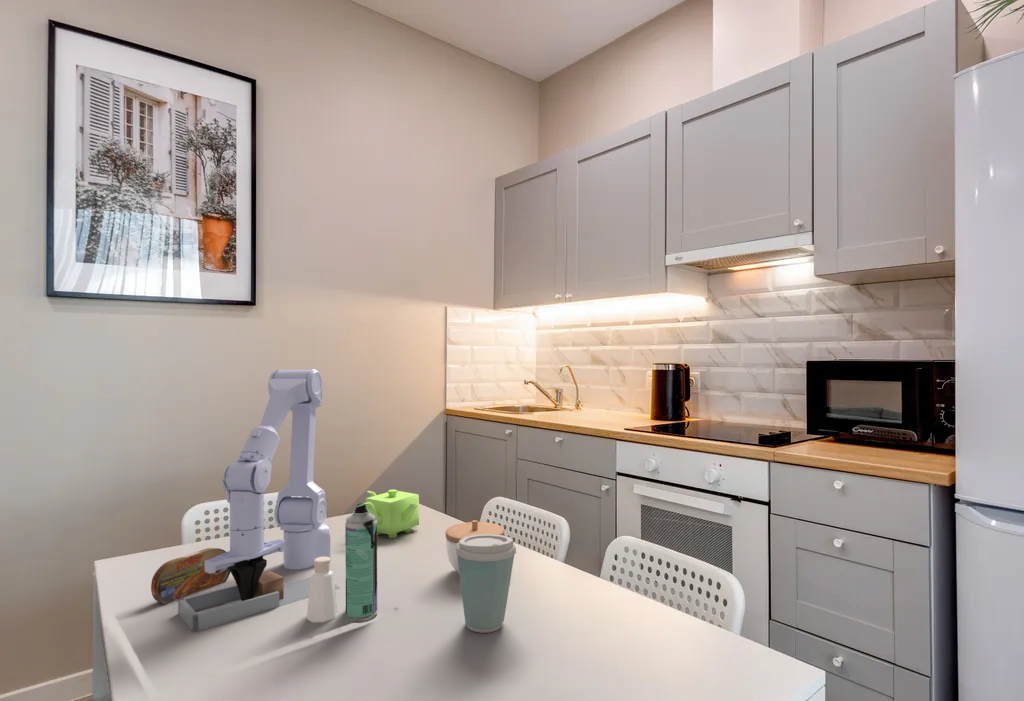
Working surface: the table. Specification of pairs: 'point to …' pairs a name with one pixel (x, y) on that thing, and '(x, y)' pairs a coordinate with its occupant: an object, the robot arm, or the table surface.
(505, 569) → the disposable coffee cup
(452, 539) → the lidded bowl
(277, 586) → the walnut block
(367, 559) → the spray can
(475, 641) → the table surface
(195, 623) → the trap channel
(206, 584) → the tin
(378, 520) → the kettle
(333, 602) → the salt shaker
